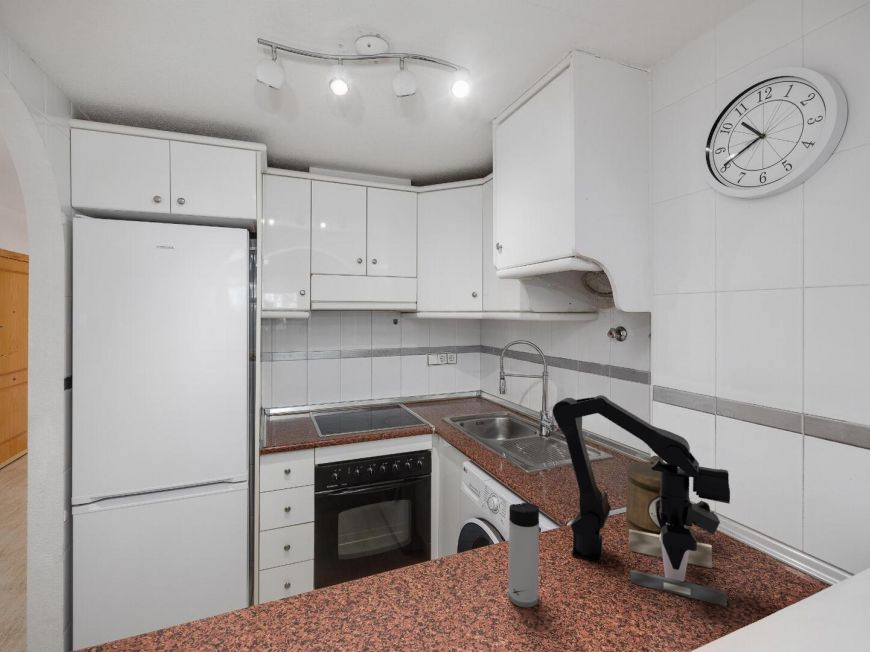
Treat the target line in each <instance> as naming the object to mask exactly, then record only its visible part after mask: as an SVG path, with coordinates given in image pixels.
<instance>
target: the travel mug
mask: <svg viewBox="0 0 870 652" xmlns="http://www.w3.org/2000/svg"><path fill="white" fill-rule="evenodd" d="M539 555H540V508H539V505H536V504H535V503H534V504H533V503H527V502H521V503H512V504H510V505H509V518H508V576H507V577H508V581H507V582H508V584H507V585H508V589H507V592H508V593H507V596H508V599H509V600H510V602H511V603H512V604H513V605H515V606H518V607H520V608H531V607H534V606H536V605H537V604H538V602H539V579H540V578H539V574H540V573H539V569H540V565H539V564H540V563H539V562H540V561H539V559H540V558H539V557H540V556H539Z"/></svg>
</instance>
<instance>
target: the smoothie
mask: <svg viewBox="0 0 870 652" xmlns="http://www.w3.org/2000/svg"><path fill="white" fill-rule="evenodd" d="M659 540H660V541H661V545H662V554H663V558H662V563H663V568H664V569H663V570H664V577H665V578H670V579H674V580H678V581H683V582H685V579H686V571H687V568H688V567H687V566H688V563H687V561H688V556H689V550H687V551H686V552H685V554H684V556H683V559H682V562H681V565H680V568H679V570H676V569H673V567H672V565H671V562H670V560H669V557H668V555H667V552H666V550H665V547H664V545H663V543H662V539H661V533H660V537H659Z"/></svg>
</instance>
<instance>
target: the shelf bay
mask: <svg viewBox="0 0 870 652" xmlns="http://www.w3.org/2000/svg"><path fill="white" fill-rule="evenodd" d="M659 537H660V535H657V534H651V533H646V532H641V531H636V530H631V529H629V533H628V551H629V552H633V553H634V552H635V553H639V554H642V555H643V554H644V555H648V556H653V557H658V558H662V559H663V554H662V545H661V541H660V540H659ZM712 560H713V546H712V545H711V544H708V543H707V544H706V543H702V542H698V541H697V550H696V551H691V550H689V556H688V561H687V564H689V565H695V566H699V567H704V568H709V569H712V568H713V566H712V563H713V561H712ZM633 583H634V584H633ZM630 584H633V585H637V586H641V585H642V586H641V587H647V588H649V589H654V588H655V589H654V590H658V591H663V592H667V593H671V594H674V595H678V596H684V597H687V598H691V599H696V600H699V601H704V602H708V603H712V604H716V605H721V606H724V607H727V605H728V603H727V601H728V600H727V599H728V598H727V597H728V594H727V591H724V590H721V589H717V588H713V587H708V586H704V585H699V584H694V583H692V582H691V583H690V582H686V581H684V582H683V581H678V580H674V579H670V578H665V576H660V575H656V574H652V573H647V572H645V571H644V572H643V571H638V570H635V569H630Z"/></svg>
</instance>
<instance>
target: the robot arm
mask: <svg viewBox="0 0 870 652" xmlns="http://www.w3.org/2000/svg"><path fill="white" fill-rule="evenodd" d="M595 414H598V415H600V416H602V417H603V418H605V419H607V420H609V421H610V422H612V423H613V424H615V425H616V426H617V427H620V428H621V429H623V430H624V431H626V432H628V433H629V434H631V435H633V436H634V437H636V438H637V439H638V440H641V441H642V442H643V443H644V444H646V445H647V447H649V448H650V450H651V451H652V452H653V453H655V455H656V456H659V457H660V458H661V459H660V458H659V459H658V461H657V462H655V463H653V464H652V467H651V469H652V470H654V471H660V472H661V480H660V490H659V495H660V499H659V500H658V501H657V502H656V507H655V510H656V514H657V519H658V522H659V525H660V528H661V539H662V543H663V545H664V547H665V550H666V552H667V555H668V557H669V560H670V562H671V565H672V567H673V569H676V570H679V568H680V565H681V562H682V559H683V556H684V554H685V552H686V551H687V550H691V551H696V550H697V542H698V541H697V539H696V536H695V533H694V532H693V531H691V530H690V528H693V525H694V526H696V527H698V528H700V529H702V530H704V531H706V532H707V533H709V534H710V535H715V534H716V532H717V530H718V527H719V525H720V524H721V521H720V519H719V517H718V515H717V514H716V513H715V512H714V511H711V506H710V505H709V502H705V501H704V500H700V501H698V502H696V503H695V502H694V503H692V502H691V499H690V478H692V492H693V493H695V495H696V496H698V498H699V499H705V500H709V501H714V502H720V503H724V504H730V502H731V490H730V489H731V488H730V482H729V481H730V479H729V478H730V473H729V470H726V469H722V468H720V469H717V468H712V467H711V468H710V467H704V466H700V463H699V462H698V460H697V459H696V457H695V456H694V455H693V454H692V452H691V447H690V443H689V442H688V441H687V440H686V439H685V438H684V437H683V436H681V435H678V434H676V433H674V432H671V431H670V430H666V429H664V428H660V427H657V426H654V425H652V424H650V423H648V422H647V421H646V420H643V419H642V418H640V417H638V416H637V415H635V414H634V413H631V412H630V411H628V410H627V409H626V408H623V407H622V406H620V405H618V404H617V403H616V402H614V401H612V400H610V399H609V398H608V397H606V396H605V395H603V394H601V395H596V396H592V397H585V398H579V399H576V398H573V397H565V398H563V399H561V400H560V401H557V402H556V403H555V404H554V406H553V408H552V415H553V417H554V418H553V419H554V420H555V422H556V424H557V427H558V429H560V431H561V433H563V435H564V438H565V441H566V445H567V448H568V452H569V456H570V457H569V458H570V460H571V463H572V467H573V470H574V474H575V475H574V476H575V478H576V479H575V480H576V482H577V486H578V490H579V502H578V506H579V507H578V508H579V512H578V513H577V515H576V516H575V518H574V519H573V521H572V522H571V524H570V527H571V529H572V530H571V531H572V551H571V556H573V557H575V558H578V559H579V558H580V559H583V560H588V561H592V562H595V563H596V562H598V563H599V562H600V561H601V560H600V559H601V557H602V556H603V535H602V534H601V529H603V528H604V527H605V524H606V522H607V520H608V518H609V516H610V511H611V509H612V506H611V504H610V502H609V498H608V497H609V496H608V493H607V492H602V491H600V489H599V487H598V486H597V483H596V479H595V475H594V472H593V468H592V463H591V460H590V456H589V453H588V450H587V445H586V442H585V438H584V435H583V417H587V416H591V415H595ZM662 459H663V461H662ZM684 525H686V526H687V527H689V528H687V529H686V528H684Z"/></svg>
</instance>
